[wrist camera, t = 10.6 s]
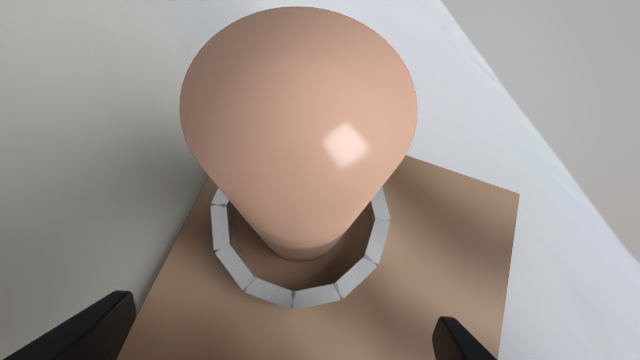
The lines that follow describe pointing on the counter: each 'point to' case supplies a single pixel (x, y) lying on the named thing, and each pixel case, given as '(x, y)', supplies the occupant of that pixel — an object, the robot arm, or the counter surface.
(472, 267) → the walnut board
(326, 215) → the beige rounded cylinder
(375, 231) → the steel collar
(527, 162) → the counter surface
